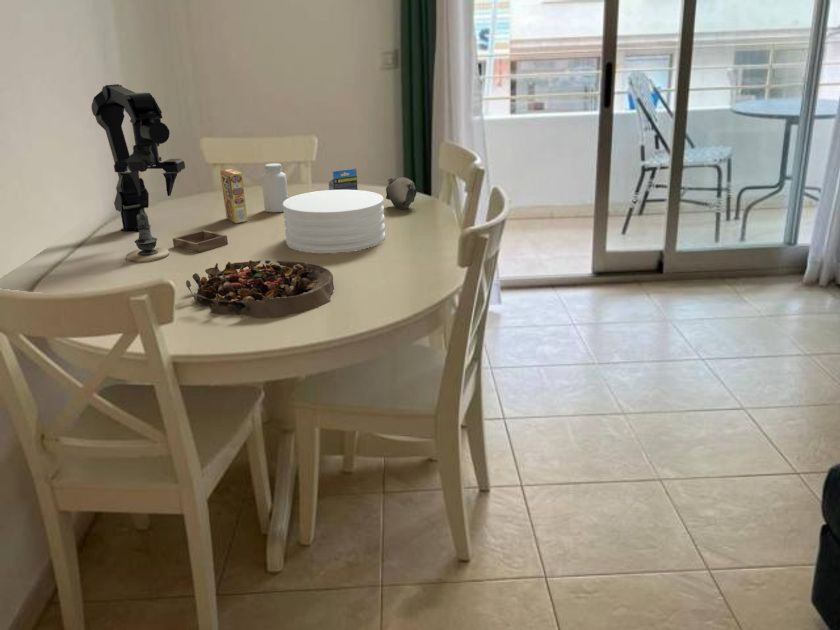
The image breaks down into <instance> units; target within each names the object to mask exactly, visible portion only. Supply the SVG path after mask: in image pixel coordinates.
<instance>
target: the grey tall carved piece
mask: <svg viewBox="0 0 840 630" xmlns="http://www.w3.org/2000/svg"><path fill="white" fill-rule="evenodd" d="M140 212H141V213H140V214H138V215H137V222H138V226H137V228H138V230H139V231H138V238H137V239H135V240H134V243H135V245H136V247H137V248H138V250H139V249H140V250H142V251H140V252H139V253H138V255H139V256H150V255H154V254H157V253H158V251H157V250H155V249H153V248H156V246H157V241H158V238H157V237H153V235H152V233H151V226H152V225H150V223H149V216H148V213H146V212H145V213H146V214H145V213H143V212H142V210H140Z"/></svg>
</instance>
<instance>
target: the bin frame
mask: <svg viewBox="0 0 840 630" xmlns="http://www.w3.org/2000/svg"><path fill="white" fill-rule="evenodd" d="M172 242H173V243H172V245H173V248H176V249H180V250H183V251H184V250H185V251H188V252H191V253H195V254H197V253H202V252H205V251H209V250H213V249H215V248H219V247H223V246H227V245H228V244H229V242H228V235H227V234H222V233H217V232H213V231H209V230H204V229H203V230H199V231H195V232H191V233H188V234H185V235H180V236H176V237H173V238H172Z"/></svg>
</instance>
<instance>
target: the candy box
mask: <svg viewBox="0 0 840 630" xmlns="http://www.w3.org/2000/svg"><path fill="white" fill-rule="evenodd" d="M220 180H221V187H222V194H223V201H224V202H223V203H224V210H225V217H226V219H228V220H230V221H232V222H233V223H234V224H238V223H239V224H240V223H245V222H248V213H247V204H246V197H245V188H244V180H243V173H242V172H240V171H237V170H236V169H232V168H229V169H223V170H220Z"/></svg>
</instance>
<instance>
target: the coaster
mask: <svg viewBox="0 0 840 630" xmlns="http://www.w3.org/2000/svg"><path fill="white" fill-rule="evenodd" d="M153 249H155V250H157V251H158V253H157V254H154V255H150V256H139V255H138V253H139V252H140V251H142V250H140V249H139V248H138V249H136V250H135V249H134V250H132V251H130V252H128V253H127V254H126V255H125V257H126V260H127V261H128V262H131V263H151V262H154V261H160V260H163V259H165V258H168V256H169V255H170V251H169V249H168V248H164V247H163V248H162V247H155V248H153Z"/></svg>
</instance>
